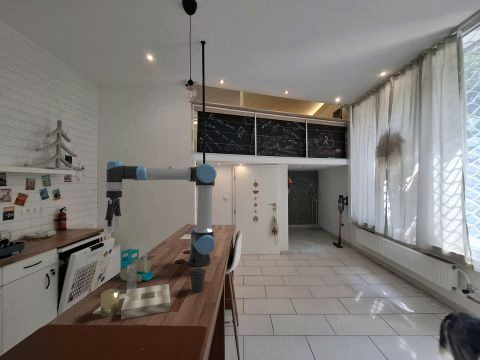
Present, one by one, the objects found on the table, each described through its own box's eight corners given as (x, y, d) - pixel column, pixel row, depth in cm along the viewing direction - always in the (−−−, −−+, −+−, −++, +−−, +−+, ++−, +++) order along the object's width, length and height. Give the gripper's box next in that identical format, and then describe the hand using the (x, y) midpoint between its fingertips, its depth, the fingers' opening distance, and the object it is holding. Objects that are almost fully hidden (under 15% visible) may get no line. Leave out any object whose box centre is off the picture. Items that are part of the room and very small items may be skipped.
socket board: (168, 291, 108) (168, 283, 108) (170, 310, 91) (170, 302, 91) (127, 297, 102) (127, 289, 102) (121, 319, 85) (121, 310, 85)
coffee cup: (208, 287, 112) (208, 267, 112) (200, 295, 104) (200, 273, 104) (194, 285, 114) (194, 265, 115) (185, 292, 107) (185, 271, 107)
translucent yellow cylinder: (120, 306, 94) (120, 287, 94) (117, 315, 88) (117, 294, 88) (102, 309, 92) (102, 290, 92) (98, 318, 86) (99, 297, 86)
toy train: (146, 283, 118) (147, 254, 118) (119, 280, 121) (120, 252, 122) (155, 277, 125) (155, 250, 126) (129, 274, 129) (130, 248, 129)
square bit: (136, 288, 111) (136, 263, 112) (135, 291, 108) (135, 266, 108) (127, 289, 110) (127, 264, 110) (126, 292, 106) (126, 267, 107)
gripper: (112, 190, 130) (112, 226, 130) (98, 190, 106) (97, 235, 106) (126, 190, 132) (126, 225, 132) (116, 190, 109) (115, 234, 108)
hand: (113, 230), depth 119 cm, fingers open, 13 cm apart
